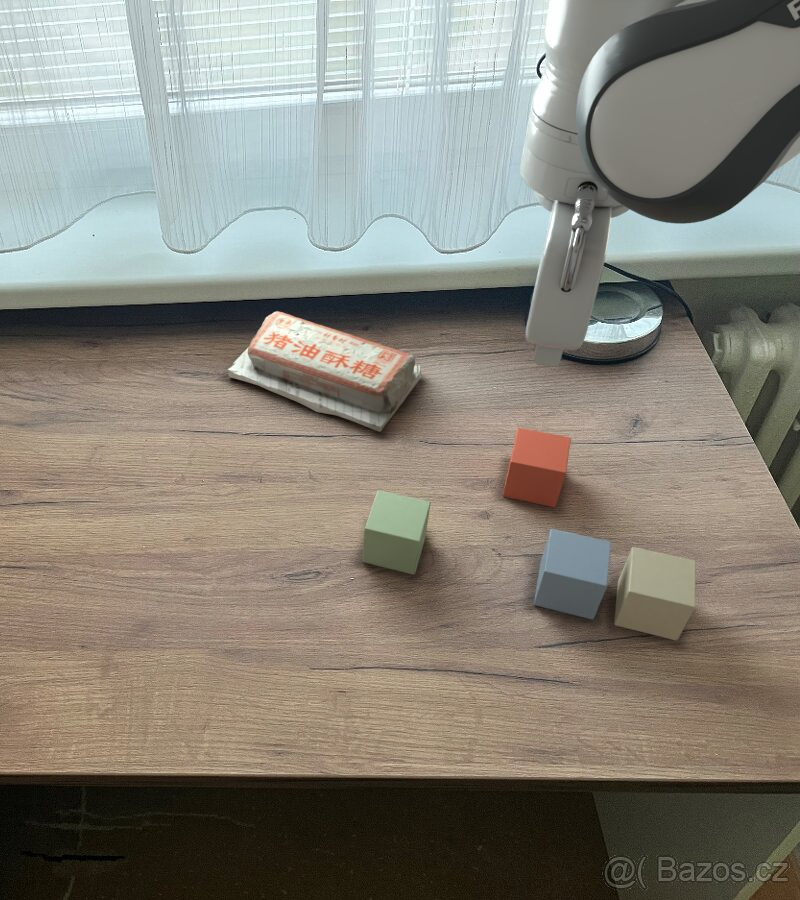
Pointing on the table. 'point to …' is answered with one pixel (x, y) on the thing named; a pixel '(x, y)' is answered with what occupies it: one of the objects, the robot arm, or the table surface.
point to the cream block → (656, 593)
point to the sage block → (395, 532)
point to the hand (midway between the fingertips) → (553, 322)
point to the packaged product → (328, 370)
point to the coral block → (537, 467)
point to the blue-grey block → (573, 574)
